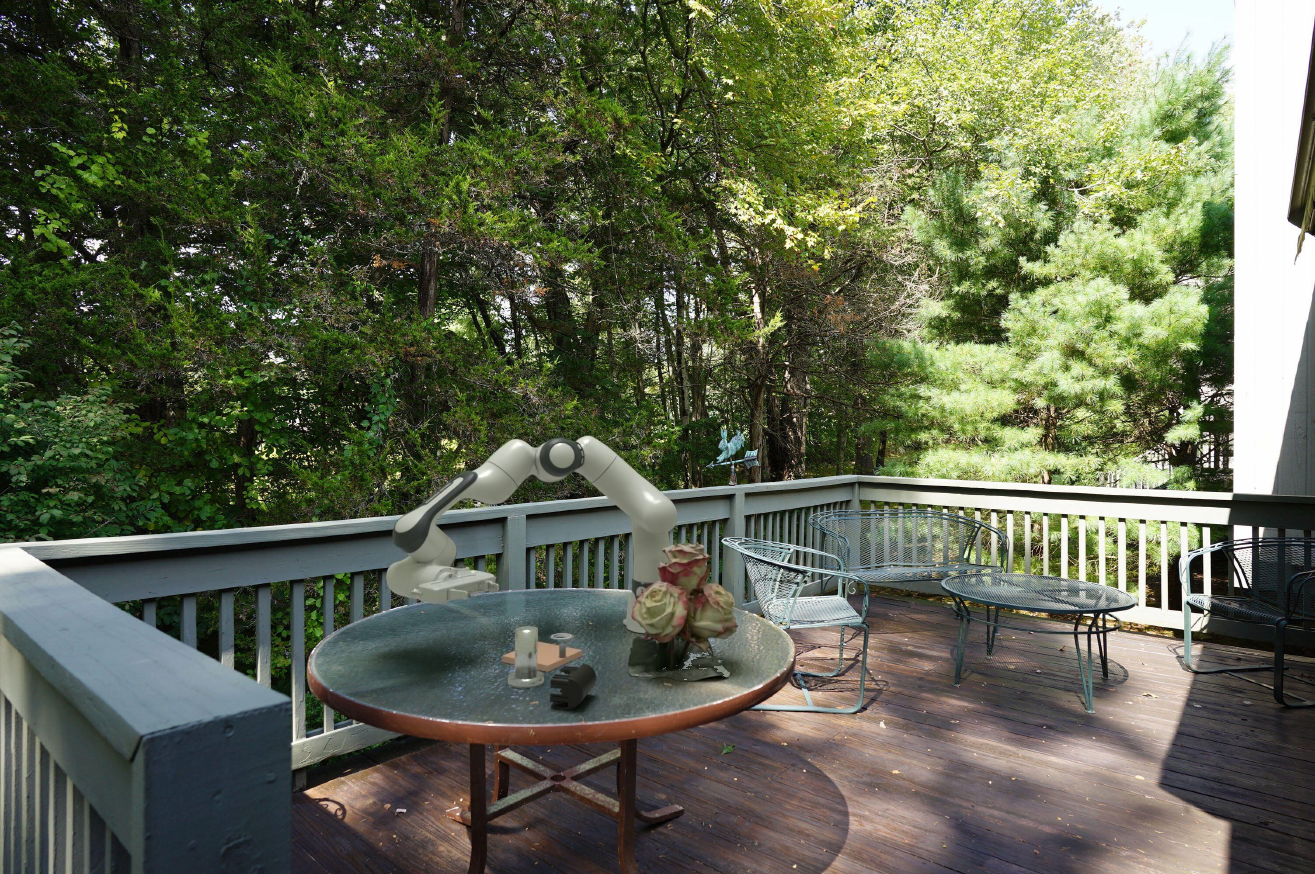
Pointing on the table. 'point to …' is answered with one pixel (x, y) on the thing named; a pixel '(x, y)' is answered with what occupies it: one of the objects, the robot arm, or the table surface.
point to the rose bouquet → (681, 617)
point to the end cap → (572, 686)
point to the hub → (526, 659)
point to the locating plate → (549, 656)
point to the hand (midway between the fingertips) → (483, 591)
